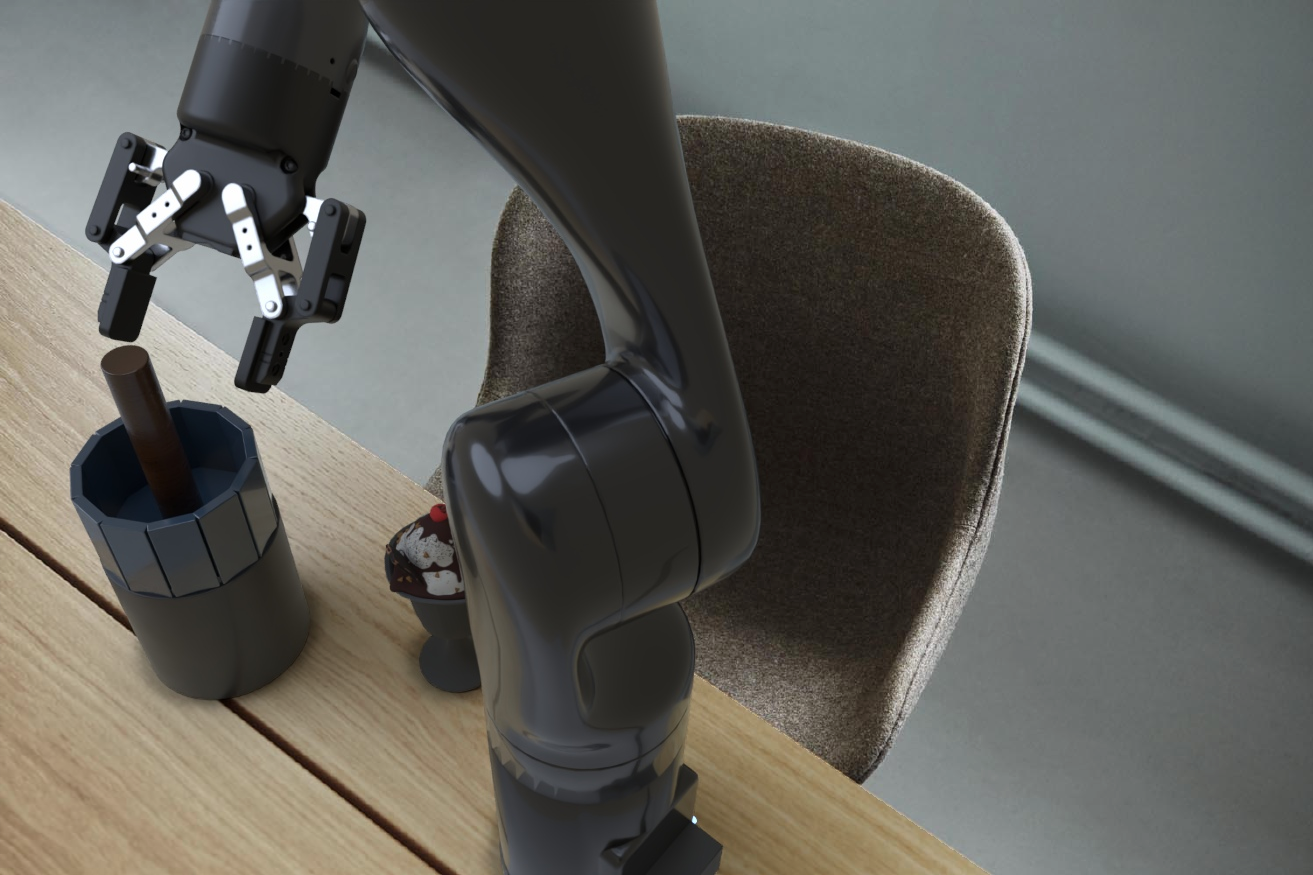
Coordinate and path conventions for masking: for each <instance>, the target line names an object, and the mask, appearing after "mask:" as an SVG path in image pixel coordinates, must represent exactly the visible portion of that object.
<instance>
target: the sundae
mask: <svg viewBox="0 0 1313 875" xmlns="http://www.w3.org/2000/svg"><path fill="white" fill-rule="evenodd" d="M383 561H384V562H383V563H384V572H385V577H386V580H387V582H388V584H389V590H390V592H391V593H396V594H397V595H399V596H400V597H402V598H404V599H407V600H409V601H410V603H411V606H412V608H413V611H414V613H415V615H416V617H417V618H418V620H419V622H420V624H421V625H422V627H423V628H424V630H425V631H426V632H427V633H428V634H430V636H429V638H428V639H427V640H426V641H425V642H424V644H423V645H422V648H421V650H420V654H419V661H418V662H419V667H420V671H421V674H422V675H423V677H424V678H425V679H426V681H427V682H428V683H429V684H430V685H432V686H434V687H435V688H437V689H439V690H442V691H445V692H450V693H463V692H468V691H472V690H475V689H477V688H479V687H481V679H480V672H479V667H478V662H477V657H476V653H475V649H474V644H473V640H472V635H471V630H470V625H469V620H468V614H467V607H466V600H465V593H464V588H463V583H462V578H461V573H460V568H459V563H458V559H457V555H456V551H455V546H454V542H453V538H452V534H451V529H450V525H449V521H448V517H447V511H446V505H445V503H436V504H434V505H432V506H431V508H430V511H429V512H427V513H424V514H423V515H420V516H419V517H418V518H416V520H414V521H412V522H410V523H409V524H407V525H405V526H403V527H402V528H401V529H400V530H399V531H397V532H396V533H395V534H394V535H393V536H392V537H391V539H390V540H389V542H388V543H386V544H385V554H384V558H383Z"/></svg>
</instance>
